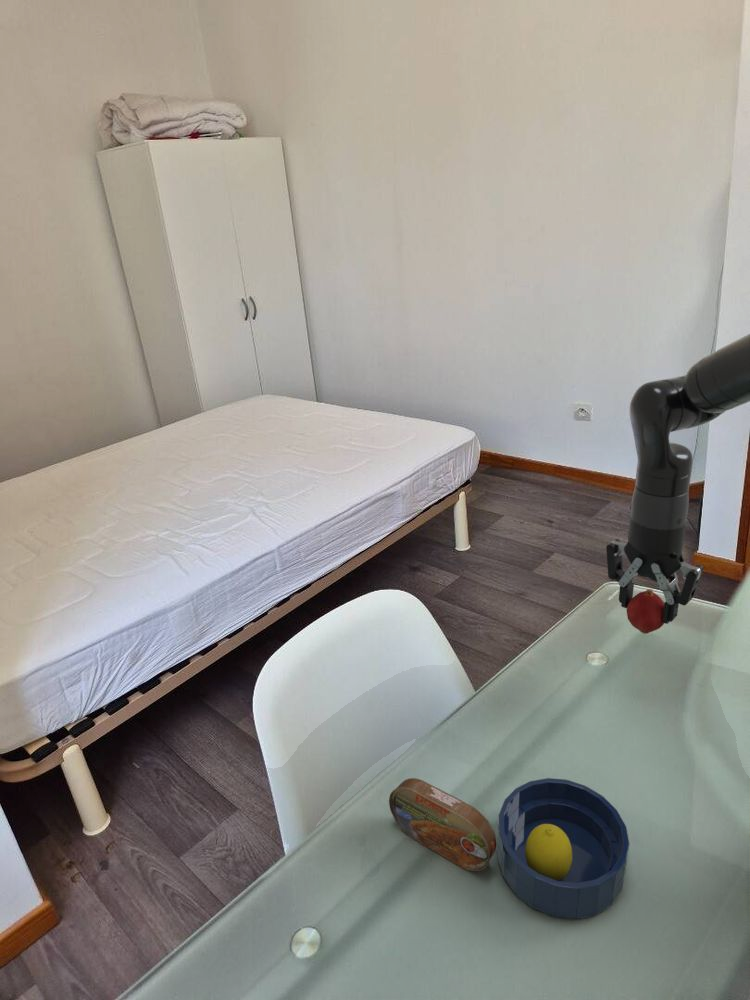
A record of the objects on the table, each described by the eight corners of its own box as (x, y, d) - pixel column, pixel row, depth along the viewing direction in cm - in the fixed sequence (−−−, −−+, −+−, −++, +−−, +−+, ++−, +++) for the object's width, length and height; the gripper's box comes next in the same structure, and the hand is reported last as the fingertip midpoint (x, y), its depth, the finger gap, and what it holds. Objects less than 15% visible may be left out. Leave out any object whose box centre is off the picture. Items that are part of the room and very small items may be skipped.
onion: (618, 623, 109) (622, 580, 106) (653, 619, 110) (658, 576, 106) (634, 645, 104) (639, 601, 101) (671, 641, 104) (677, 596, 101)
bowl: (646, 857, 87) (651, 825, 84) (582, 949, 77) (586, 915, 75) (540, 791, 97) (542, 759, 94) (473, 864, 87) (473, 832, 85)
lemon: (579, 878, 84) (584, 834, 81) (548, 905, 81) (551, 860, 78) (545, 846, 88) (548, 803, 85) (514, 870, 86) (516, 826, 82)
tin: (389, 824, 93) (385, 780, 90) (402, 808, 96) (399, 764, 92) (487, 884, 85) (488, 837, 81) (499, 864, 87) (500, 818, 83)
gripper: (720, 519, 96) (704, 619, 103) (623, 493, 105) (614, 586, 112) (698, 540, 91) (682, 643, 98) (598, 510, 101) (591, 606, 108)
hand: (646, 612), depth 105 cm, fingers closed on onion, 6 cm apart
